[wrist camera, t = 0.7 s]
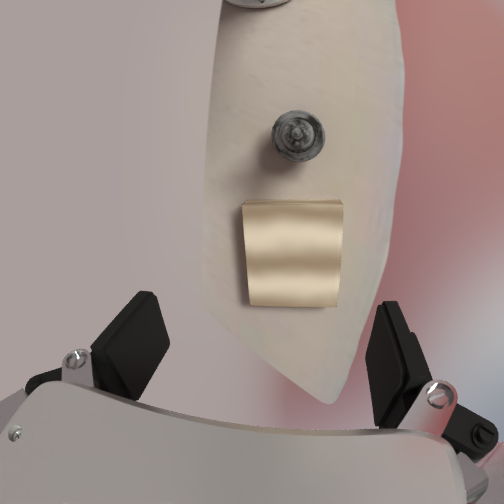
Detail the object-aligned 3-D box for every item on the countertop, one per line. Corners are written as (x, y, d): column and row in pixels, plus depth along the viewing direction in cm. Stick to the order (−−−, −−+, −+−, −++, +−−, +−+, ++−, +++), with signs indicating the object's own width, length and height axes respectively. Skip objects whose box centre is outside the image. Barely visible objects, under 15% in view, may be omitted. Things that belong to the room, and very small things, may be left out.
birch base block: (246, 200, 35) (241, 205, 32) (340, 199, 33) (343, 205, 30) (253, 294, 41) (249, 305, 38) (335, 295, 38) (336, 307, 36)
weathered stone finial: (268, 151, 32) (251, 156, 21) (282, 107, 30) (271, 90, 19) (314, 166, 32) (320, 179, 21) (328, 122, 29) (342, 113, 19)
